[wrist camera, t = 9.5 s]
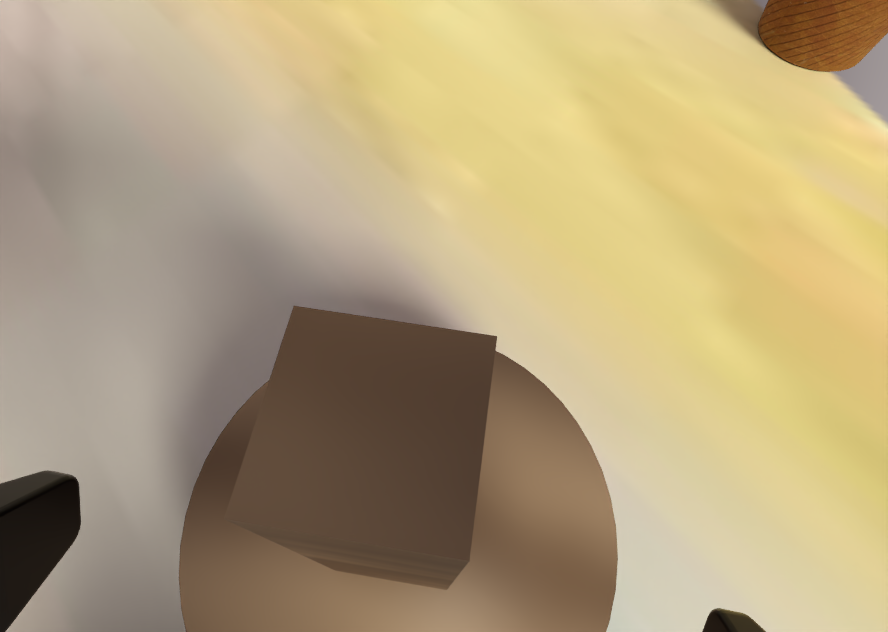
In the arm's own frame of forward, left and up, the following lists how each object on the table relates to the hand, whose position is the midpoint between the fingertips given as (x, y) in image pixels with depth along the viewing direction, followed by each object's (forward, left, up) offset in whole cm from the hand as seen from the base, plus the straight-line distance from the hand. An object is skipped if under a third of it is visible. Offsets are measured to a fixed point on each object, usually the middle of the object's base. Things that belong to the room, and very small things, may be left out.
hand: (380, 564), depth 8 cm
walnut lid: (+2, 0, -9) cm, 9 cm away
